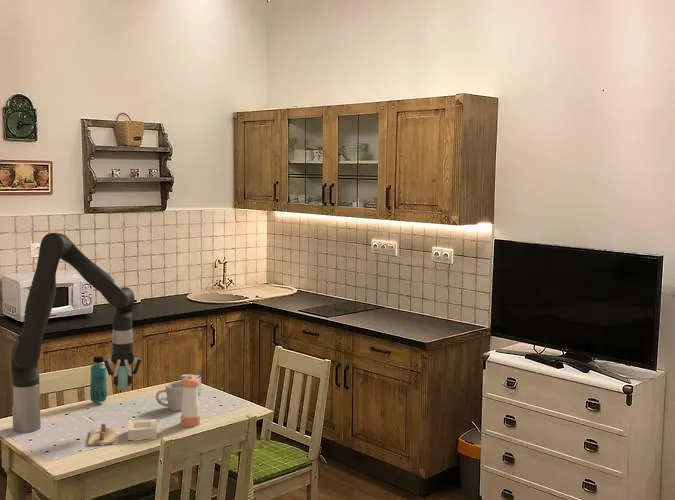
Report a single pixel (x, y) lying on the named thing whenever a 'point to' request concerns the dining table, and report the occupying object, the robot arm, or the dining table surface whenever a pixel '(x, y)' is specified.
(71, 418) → the dining table surface
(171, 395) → the mug
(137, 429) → the socket block
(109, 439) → the board
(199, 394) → the medicine box
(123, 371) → the pin
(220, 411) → the dining table surface
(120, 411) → the dining table surface
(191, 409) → the pepper shaker
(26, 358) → the robot arm
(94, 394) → the beverage bottle
